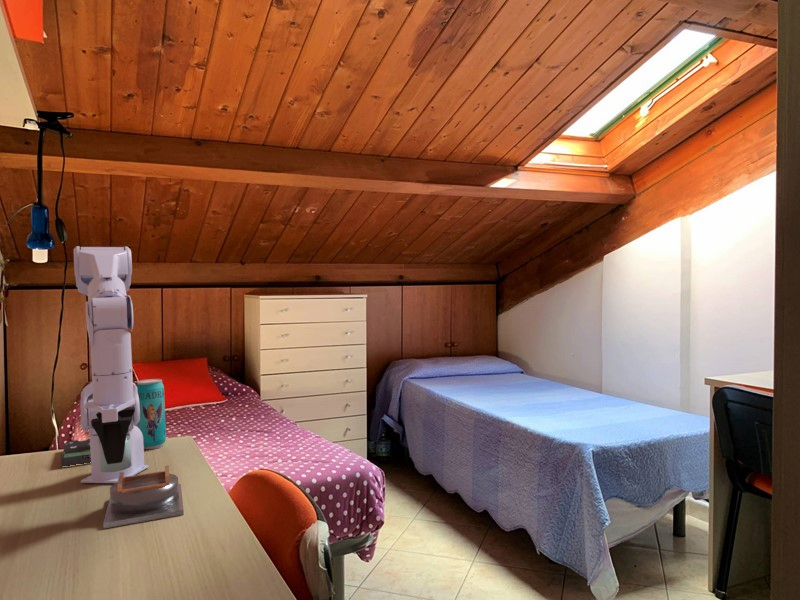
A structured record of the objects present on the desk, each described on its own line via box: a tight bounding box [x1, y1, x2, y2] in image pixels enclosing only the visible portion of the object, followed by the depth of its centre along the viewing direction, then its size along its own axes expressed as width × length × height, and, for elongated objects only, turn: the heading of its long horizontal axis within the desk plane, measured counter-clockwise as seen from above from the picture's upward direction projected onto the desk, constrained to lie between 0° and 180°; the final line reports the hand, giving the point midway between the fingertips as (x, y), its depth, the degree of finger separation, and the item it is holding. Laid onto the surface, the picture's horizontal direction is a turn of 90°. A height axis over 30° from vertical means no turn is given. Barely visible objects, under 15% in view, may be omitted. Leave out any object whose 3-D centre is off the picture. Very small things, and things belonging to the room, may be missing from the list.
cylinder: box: [99, 433, 132, 472], centre depth 89 cm, size 4×4×5 cm
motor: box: [102, 465, 185, 530], centre depth 90 cm, size 13×11×5 cm
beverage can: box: [136, 378, 167, 450], centre depth 126 cm, size 6×6×15 cm
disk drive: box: [60, 438, 91, 467], centre depth 122 cm, size 10×3×15 cm
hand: (116, 458), depth 89 cm, fingers closed on cylinder, 4 cm apart
